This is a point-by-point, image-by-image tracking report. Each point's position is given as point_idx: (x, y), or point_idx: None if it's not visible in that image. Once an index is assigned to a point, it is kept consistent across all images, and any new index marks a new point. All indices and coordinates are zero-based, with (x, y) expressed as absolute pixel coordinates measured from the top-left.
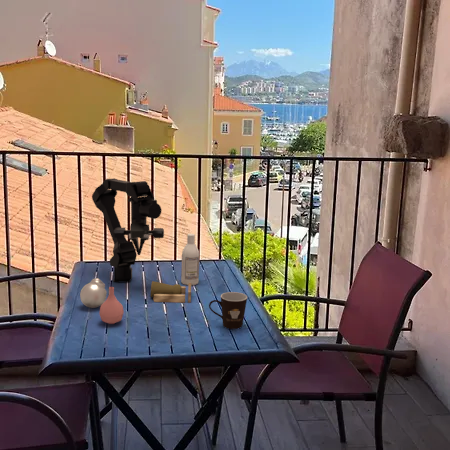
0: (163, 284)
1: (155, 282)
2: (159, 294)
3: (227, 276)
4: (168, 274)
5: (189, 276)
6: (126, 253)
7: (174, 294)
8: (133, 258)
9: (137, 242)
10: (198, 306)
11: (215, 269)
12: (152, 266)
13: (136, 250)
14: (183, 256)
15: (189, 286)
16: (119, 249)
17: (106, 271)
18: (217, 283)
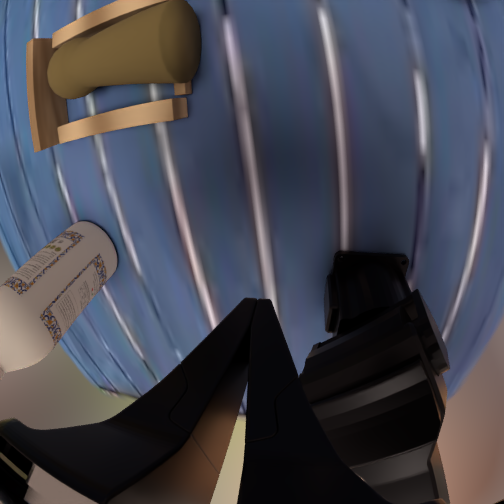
0: (104, 42)
1: (139, 31)
2: (142, 2)
3: None
4: (186, 333)
5: (62, 237)
6: (377, 371)
7: (84, 29)
8: (320, 352)
9: (246, 452)
10: (41, 24)
11: (87, 347)
12: None
13: (283, 337)
14: (31, 306)
15: (31, 103)
16: (434, 393)
17: None
18: (37, 245)
